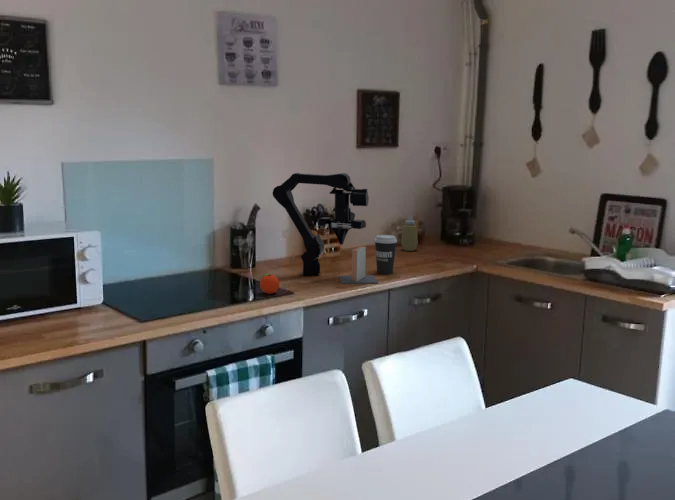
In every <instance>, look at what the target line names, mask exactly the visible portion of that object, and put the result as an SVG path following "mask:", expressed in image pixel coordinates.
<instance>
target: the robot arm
mask: <svg viewBox="0 0 675 500" xmlns="http://www.w3.org/2000/svg"><path fill="white" fill-rule="evenodd" d="M351 181H352V180H351V177H350V176H349V174H348V173H347V172H346V173H345V172H342V173H333V174H313V173H299V172H295V173H292V174H291V176H290V177H289V178H287V179H286V180H285V181H284V182H283V183H281V184H280V185H277V186H275V187H274V188H273V189H272V197H273V198H274V199H275V200H276V202H278V204H279V206H281V207H283V208H284V210H285V212H287V214H288V216H289V218H290V220H291V221H292V223H293V224H294V226H295V228H296V229H297V231H298V233H299V234H300V236H301V237H302V240H303V241H302V242H303V247H304V248H305V252H303V254H301V255H300V258H301V260H302V273H301V274H302V276H305V277H306V276H310V277H311V276H314V277H317V276H320V274H321V263H320V262H319V257H320V256H321V254H323V252H324V251H325V245H324V244H325V241H323V240H322V237H321V235H320V234H317V235H315V234H314V233H313V232H312V230H311V229H310V227H309V225H308V223H307V221H306V220H305V218H304V216H303V215H302V214H301V211H300V210H299V208H298V207H297V205H296V203H295V199H294V195H293V192H292V191H293V190H294V189H295V188H296V187H297V186H298V185H299V184H307V185H308V184H309V185H320V186H321V185H324V186H328V187H330V188H331V187H332V190H331V191H330V192H329V194H330V195H334V208H332V211H333V212H334V218H332V217H329V216H327V217H325V216H324V217H319V218H318V220H317V226H320V227H325V226H326V225H331V227H330V229H331V230H333V232H334V234H335V237H336V238H337V241H338V243H339V245H341V246H342V245H344V243H345V239H346V237H347V234H348V232H349V231H350V230H351V229H357V230H361V229H364V228H366V227H367V223H366V221H365V220H364V219H355V217H356V213H355V212H352V211H351V210H352V209H351V207H350V204H351V205H352V207H353V206H354V207H368V206H369V200H370V199H369V198H370V197H369V193H368V192H369V191H368V189H367V188H356V187H355V186H354V184H353V182H351Z"/></svg>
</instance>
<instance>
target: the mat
mask: <svg viewBox="0 0 675 500" xmlns="http://www.w3.org/2000/svg"><path fill="white" fill-rule="evenodd" d="M338 278H339V281H340V283H341V285H349V284H350V285H353V284H354V285H358V284H359V285H361V284H362V285H365V284H367V285H368V284H371V285H372V284H375V285H376V284H379V282H378V280H377V278H376V277H375V276H374V275H372V274H370V275H369V274H367V275H366V274H365V277H364V278H362V279H360V280H358V281H353V280H352V275H338Z"/></svg>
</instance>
